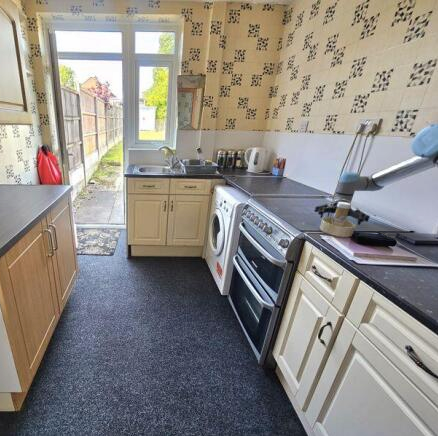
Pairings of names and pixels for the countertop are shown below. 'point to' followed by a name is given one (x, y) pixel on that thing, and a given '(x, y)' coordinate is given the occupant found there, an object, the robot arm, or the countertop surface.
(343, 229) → the beige round bowl
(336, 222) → the sprinkles bottle
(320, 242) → the countertop surface
